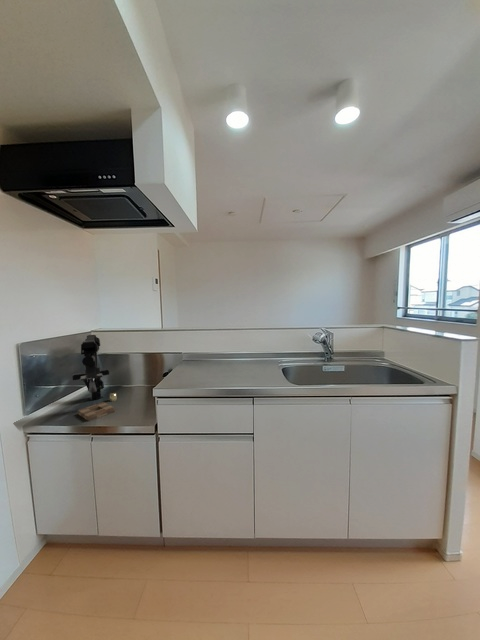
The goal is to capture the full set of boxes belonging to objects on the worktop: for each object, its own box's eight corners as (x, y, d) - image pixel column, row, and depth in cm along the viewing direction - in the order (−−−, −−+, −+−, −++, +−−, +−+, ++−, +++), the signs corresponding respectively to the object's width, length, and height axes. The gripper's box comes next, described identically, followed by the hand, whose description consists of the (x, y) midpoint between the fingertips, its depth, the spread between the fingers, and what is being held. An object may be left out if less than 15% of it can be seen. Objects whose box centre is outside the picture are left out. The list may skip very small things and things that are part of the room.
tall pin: (88, 391, 157) (87, 378, 156) (96, 389, 159) (95, 377, 158) (89, 393, 153) (87, 379, 152) (96, 391, 155) (95, 378, 155)
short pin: (108, 400, 168) (108, 394, 168) (114, 398, 171) (114, 392, 171) (111, 401, 166) (111, 395, 165) (117, 399, 169) (117, 393, 168)
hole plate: (78, 414, 149) (78, 410, 148) (103, 405, 160) (103, 401, 159) (88, 421, 140) (88, 416, 140) (114, 411, 151) (114, 407, 151)
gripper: (71, 367, 143) (73, 395, 144) (109, 362, 152) (111, 388, 154) (71, 363, 152) (74, 390, 154) (107, 359, 162) (109, 383, 163)
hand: (92, 388), depth 156 cm, fingers closed on tall pin, 4 cm apart
